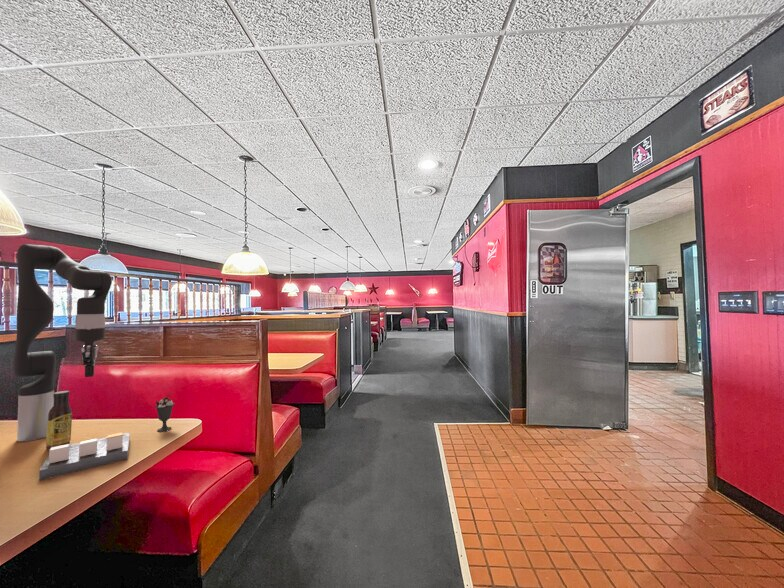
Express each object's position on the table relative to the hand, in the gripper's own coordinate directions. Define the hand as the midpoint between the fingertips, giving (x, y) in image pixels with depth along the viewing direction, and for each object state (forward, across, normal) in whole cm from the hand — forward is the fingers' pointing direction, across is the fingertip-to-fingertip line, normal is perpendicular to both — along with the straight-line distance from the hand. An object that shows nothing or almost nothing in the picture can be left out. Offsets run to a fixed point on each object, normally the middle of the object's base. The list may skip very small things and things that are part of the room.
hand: (89, 376), depth 108 cm
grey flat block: (+27, +4, +1) cm, 27 cm away
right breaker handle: (+24, +9, -5) cm, 26 cm away
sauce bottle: (+27, -14, -9) cm, 32 cm away
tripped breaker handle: (+24, +9, +8) cm, 26 cm away
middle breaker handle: (+24, +9, +1) cm, 25 cm away
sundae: (+27, -9, +22) cm, 36 cm away
